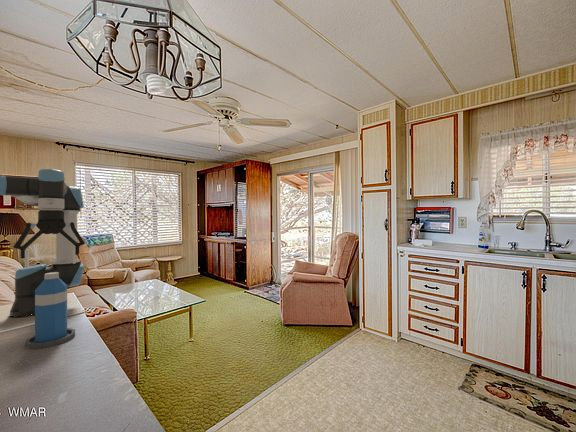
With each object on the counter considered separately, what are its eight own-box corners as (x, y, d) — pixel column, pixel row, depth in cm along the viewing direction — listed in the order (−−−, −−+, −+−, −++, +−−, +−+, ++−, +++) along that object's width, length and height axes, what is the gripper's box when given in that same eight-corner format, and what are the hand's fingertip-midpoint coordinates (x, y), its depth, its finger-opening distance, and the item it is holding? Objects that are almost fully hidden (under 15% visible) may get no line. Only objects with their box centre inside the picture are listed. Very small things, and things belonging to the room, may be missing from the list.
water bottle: (38, 347, 94) (38, 276, 95) (32, 340, 100) (32, 274, 100) (70, 337, 102) (70, 272, 102) (63, 331, 107) (63, 270, 108)
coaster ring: (29, 338, 102) (29, 334, 102) (76, 329, 111) (76, 325, 111) (21, 352, 91) (21, 348, 91) (73, 341, 99) (73, 337, 99)
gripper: (2, 209, 91) (1, 270, 91) (91, 209, 106) (91, 262, 106) (7, 209, 98) (7, 267, 97) (91, 210, 112) (92, 260, 112)
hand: (51, 265), depth 101 cm, fingers open, 13 cm apart
